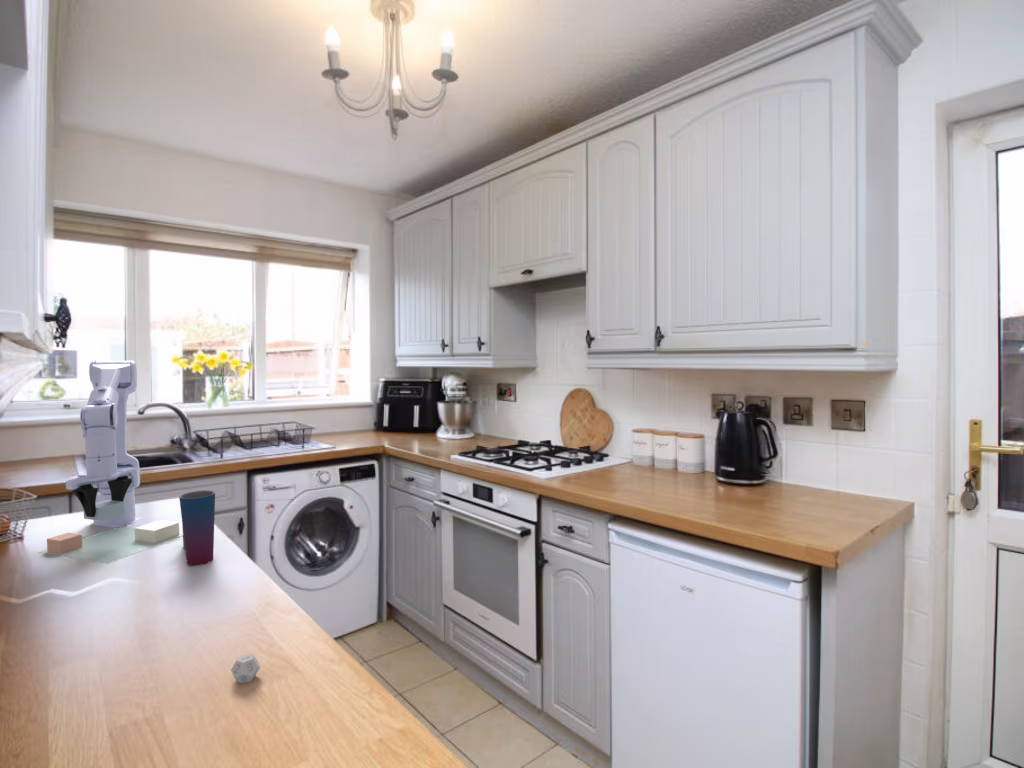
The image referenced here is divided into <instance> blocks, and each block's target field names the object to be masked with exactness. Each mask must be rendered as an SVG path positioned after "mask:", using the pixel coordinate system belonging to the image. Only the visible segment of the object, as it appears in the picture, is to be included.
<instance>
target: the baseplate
mask: <svg viewBox="0 0 1024 768" xmlns="http://www.w3.org/2000/svg"><path fill="white" fill-rule="evenodd" d="M134 528H135V527H130V526H123V525H121V526H118V527H113V528H111V529H108V530H104V531H102V532H99V533H95V534H92V535H89V536H86V537H82V547H81V548H78V549H74V550H71V551H68V552H65V553H62V554H59V553H53V552H47V549H44V550H40V551H39V553H42V554H49V555H54V556H59V557H66V558H74V559H79V560H84V561H85V560H86V561H91V562H97V563H102V564H103V563H104V564H110V563H112V562H115V561H118V560H120V559H123V558H126V557H129V556H132V555H134V554H137V553H139V552H142V551H145V550H148V549H151V548H153V547H157V546H158V545H162V544H164V543H167V542H170V541H172V540H173V541H174V540H175V539H177V538H181V537H183V533H179V535H176V536H173V537H170V538H168V539H165V540H162V541H159V542H157V543H151V542H144V541H137V540H135V531H134Z"/></svg>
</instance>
